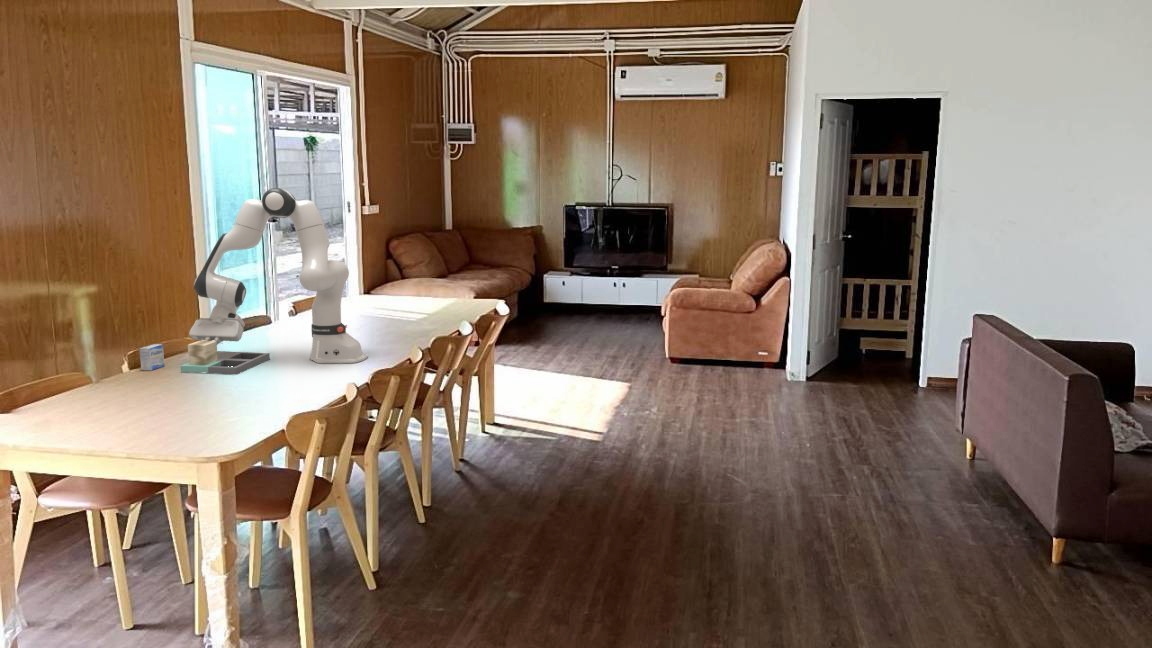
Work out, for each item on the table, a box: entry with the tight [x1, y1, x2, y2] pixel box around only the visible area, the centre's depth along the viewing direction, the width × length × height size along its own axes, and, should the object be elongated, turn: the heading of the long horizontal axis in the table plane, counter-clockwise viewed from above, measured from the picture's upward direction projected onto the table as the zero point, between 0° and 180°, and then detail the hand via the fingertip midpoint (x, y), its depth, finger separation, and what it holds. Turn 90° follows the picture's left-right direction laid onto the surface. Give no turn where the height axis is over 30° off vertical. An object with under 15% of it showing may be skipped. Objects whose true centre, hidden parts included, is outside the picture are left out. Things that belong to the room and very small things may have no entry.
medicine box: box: [139, 343, 166, 372], centre depth 336 cm, size 8×4×9 cm, turn 168°
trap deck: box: [180, 350, 271, 375], centre depth 342 cm, size 22×26×2 cm
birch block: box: [187, 340, 218, 365], centre depth 336 cm, size 7×8×8 cm
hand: (209, 348), depth 340 cm, fingers closed
